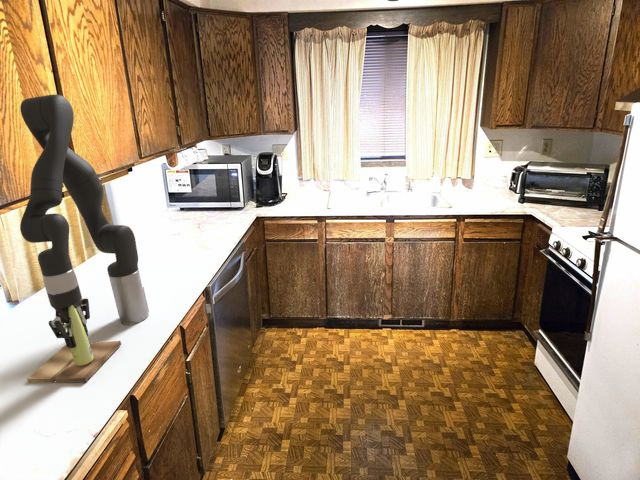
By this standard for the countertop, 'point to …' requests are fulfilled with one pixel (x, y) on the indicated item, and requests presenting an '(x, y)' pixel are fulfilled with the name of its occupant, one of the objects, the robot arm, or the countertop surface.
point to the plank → (86, 371)
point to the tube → (79, 340)
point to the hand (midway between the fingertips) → (78, 341)
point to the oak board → (53, 367)
